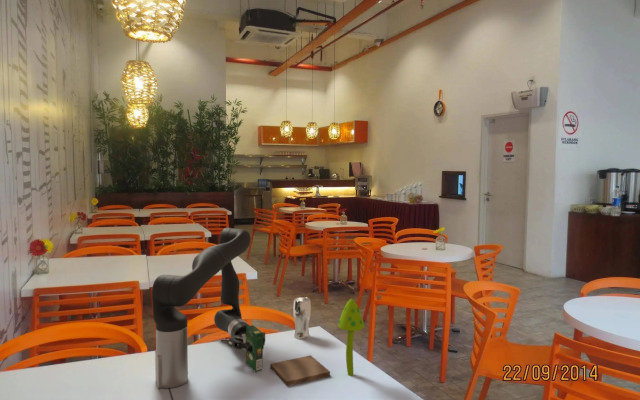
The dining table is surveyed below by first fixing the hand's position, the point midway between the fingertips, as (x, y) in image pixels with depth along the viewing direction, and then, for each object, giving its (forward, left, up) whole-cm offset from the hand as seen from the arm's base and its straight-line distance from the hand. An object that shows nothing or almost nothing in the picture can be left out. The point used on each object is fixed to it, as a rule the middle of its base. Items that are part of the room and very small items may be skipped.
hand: (256, 348), depth 143 cm
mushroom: (+26, -17, -7) cm, 32 cm away
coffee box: (0, +2, -7) cm, 7 cm away
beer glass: (+26, +20, -7) cm, 33 cm away
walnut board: (+12, -8, -7) cm, 16 cm away
